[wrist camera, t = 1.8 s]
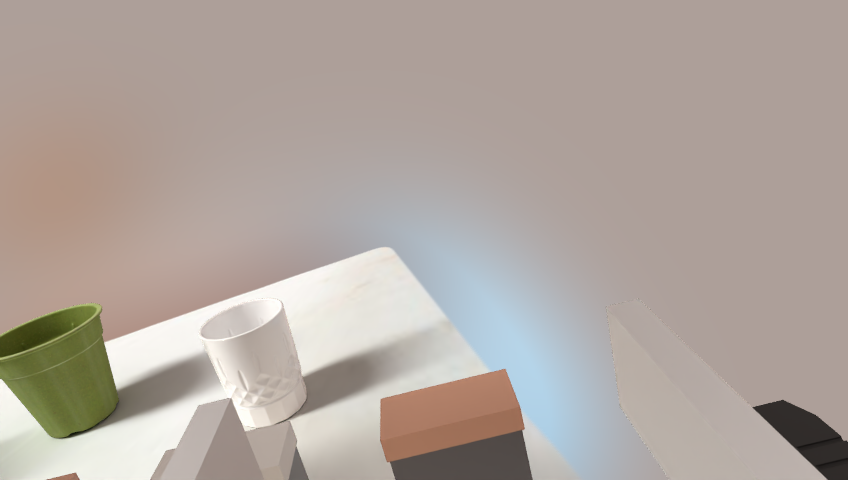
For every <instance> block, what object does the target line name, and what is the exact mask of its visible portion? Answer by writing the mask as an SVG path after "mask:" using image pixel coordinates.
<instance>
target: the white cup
mask: <svg viewBox="0 0 848 480" xmlns="http://www.w3.org/2000/svg"><path fill="white" fill-rule="evenodd" d="M199 337H200V339H201V341H202V343H203V345H204V348H205V350H206V352H207V354H208V356H209V358H210V360H211V362H212V365H213V367H214V369H215V371H216V373H217V375H218V378H219V380H220V382H221V384H222V386H223V388H224V390H225V391H226V393H227V395H228V398H231V399H232V401H233V404H234V406H235V409H236V411H237V413H238V416H239V418H240V420H241V421H242V422H243V424H244V425H245V426H248V427H254V428H260V427H266V426H271V425H274V424H276V423H279V422H281V421H283V420H286V419H287V418H289V417H290V416H292V415H293V414H294V413H296V412H297V411H298V410H299V409H300V408H301V407H302V405H303V404H304V402H305V401H306V399H307V389H306V386H305V383H304V379H303V376H302V373H301V366H300V362H299V359H298V355H297V351H296V347H295V344H294V340H293V337H292V333H291V330H290V327H289V323H288V320H287V316H286V313H285V310H284V306H283V303H282V302H281V301H280V300H278V299H274V298H262V299H256V300H251V301H247V302H244V303H241V304H238V305H235V306H233V307H230V308H228V309H226V310H224V311H222V312H220V313H218V314H216V315H215V316H213V317H212V318H210V319H209V320H208V321H207V322H206V323H204V325H203V326H202V327H201V328H200V330H199Z"/></svg>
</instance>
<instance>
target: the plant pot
mask: <svg viewBox="0 0 848 480" xmlns="http://www.w3.org/2000/svg"><path fill="white" fill-rule="evenodd" d="M101 311H102V306H101V305H100V304H96V303H89V304H81V305H76V306H72V307H68V308H64V309H61V310H58V311H54V312H52V313H49V314H46V315H43V316H40V317H38V318H35V319H33V320H31V321H28V322H26V323H23V324H21V325H19V326H17V327H15V328H12V329H10V330H9V331H7V332H5V333H3V334H1V335H0V379H2V380H3V381H4V382H5V383H6V385H7V386H8V387H9V388H10V389H11V391H12V392H13V393H14V394H15V395H16V396H17V398H18V399H19V400H20V401H21V402H22V404H23V405H24V406H25V407H26V408H27V410H28V411H29V412H30V413H31V414H32V415H33V417H34V418H35V419H36V420H37V421H38V423H39V424H40V425H41V426H42V427H43V428H44V430H45V431H46V432H47V433H48V434H49V435H50V436H51V437H54V438H61V437H67V436H68V435H69V434H71V433H73V432H77V431H84V430H86V429H89V428H91V427H93V426H95V425H96V424H97V423H99V422H100V421H102V420H103V419H105V418H106V417H108V416H109V415H110V414H111V413H112V412H113V411H114V410H115V408H116V404H117V402H119V398H118V394H117V390H116V386H115V383H114V379H113V375H112V371H111V368H110V364H109V360H108V356H107V352H106V348H105V345H104V341H103V337H102V333H103V329H102V325H101V320H100V316H99V315H100V313H101Z"/></svg>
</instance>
